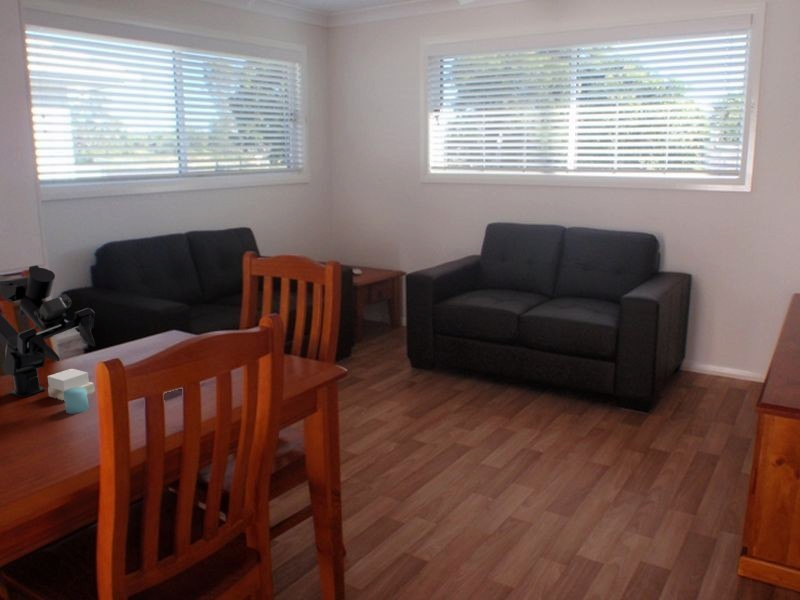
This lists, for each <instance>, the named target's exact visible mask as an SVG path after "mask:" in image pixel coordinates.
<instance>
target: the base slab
mask: <svg viewBox="0 0 800 600" xmlns="http://www.w3.org/2000/svg"><path fill="white" fill-rule="evenodd" d="M80 387H84V388H86V390H87V396H88V395H91V394H93V392H94V391H95V392H96V388H95V383H94V382H92V381H89V384H86V385H83V386H80ZM47 390H48V391H47V392H48V397H50V398H54V399H56V398H57V400H60V401H63V400H64V393H63V392H64V391H61V390H57V389H54V388H51V387H49V386H48V387H47ZM95 392H94V393H95ZM63 402H65V400H64V401H63Z"/></svg>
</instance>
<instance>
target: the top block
mask: <svg viewBox="0 0 800 600" xmlns="http://www.w3.org/2000/svg"><path fill="white" fill-rule="evenodd" d="M89 382H90V379H89V373H88V372H87V371H82V370H80V369H75V368H69V369H65V370H63V371H59V372H56V373H53V374H50V375H47V383H48V387H51V388H54V389H57V390H61V391H65V390H67V389H70V388H75V387H80V386H83V385H86V384H89Z"/></svg>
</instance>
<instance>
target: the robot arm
mask: <svg viewBox="0 0 800 600" xmlns="http://www.w3.org/2000/svg"><path fill="white" fill-rule="evenodd" d="M55 277H56V274H55V273H54V272H53V271H52V270H49V269H48V268H45V267H39V265H32V266H29V267H28V274H27V276H19V277H18V276H17V277H8V276H5V275H4V276H3V275H0V295H1V296H0V297H1V299H3V300H4V301H6V302H8V303H16V302H19V312H18V314H19V316H20V317H25V316H27V317H28V318H29V320H30V321H31V322H32V323H33V328H30V329H28V330H25V331H22V332H19V331H18V330H16V328H15V327H14V326H13V325H12V324H11V322H9V321H8V320H7V319H6V318H5V317H4V315H2V313H0V344H1V345H2V346H3V347H4V349H5V352H4V353H5V355H4V358H5V359H4V360H3V362H2V364H1V368H2V371H3V373H4V374H6V375H9V376H12V380H13V385H14V389H13V390H10V391H9V394H11V395H13V396H17V397H19V398H20V397H21V398H25V397H26V398H27V397H28V396H32V395H35V394H38V393H40V392H43V391H46V387H43V386H40V380H39V374H38V370H37V369H39V368H44V367H45V362H46V361H45V360H46V359H50V360H52V361H56V362H60V359H61V358H60V357H59V355H58V354H57V353H56V351H55V350H54V349H52V347H50V345H49V344H48V343H47V342H46V341H45V340H47V339H50V338H52V337H56V336H59V335H62V334H64V333H66V332H69V331H72V330H75V331H76V332H78V333H79V336H80V337H81V338H82V339H83V340H84V341H85V342H87V343H88V345H90V346H91V347H95V346H96V342H95V339H94V337H93V334H92V329H93V328H94V327H95V320H96V319H95V318H96V317H95V316H96V312H95V311H94V310H93V309H92V308H90V307H86V308H83V309H81V310H78V311H75V312H74V317H73V319H71V320H69V321H66V319H67V314H66V313H65V311H66V310H67V309H68V308H70V307H71V305H72V304H73V303H72V300H71V298H70V297H69V296H68V295H67V294H66V293H63V294H61V295H58V297H55V298H52V299H49V300H46V299H47V298H49V297H50V296H51V294H52V289H53V286H54V282H55ZM37 330H39V331H37Z"/></svg>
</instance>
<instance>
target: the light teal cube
mask: <svg viewBox="0 0 800 600" xmlns="http://www.w3.org/2000/svg"><path fill="white" fill-rule="evenodd" d="M63 393H64V400H65V401H64V405H65V406H64V407H65V412H66V413H67V414H71V415H72V414H81V413H84V412H87V410H89V408H90V407H89V399H88V395H87V390H86V388H84V387H75V388H70V389H67V390H65V391H64V392H63Z"/></svg>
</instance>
